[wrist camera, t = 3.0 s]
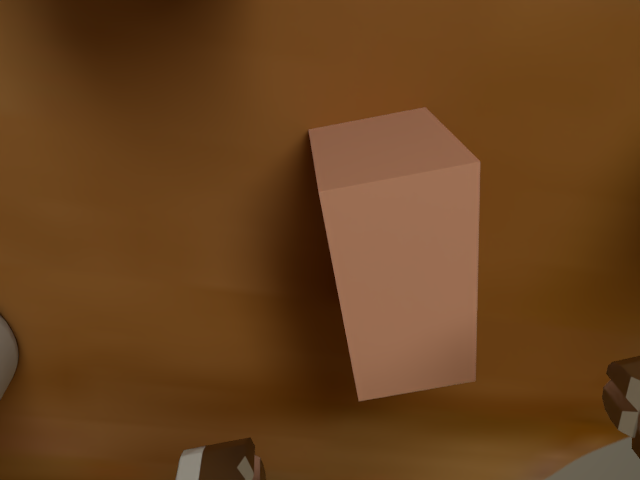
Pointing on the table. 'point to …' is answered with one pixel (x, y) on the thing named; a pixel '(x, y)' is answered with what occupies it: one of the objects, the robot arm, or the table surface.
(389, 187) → the terracotta brick
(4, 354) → the coffee cup
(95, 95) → the table surface
